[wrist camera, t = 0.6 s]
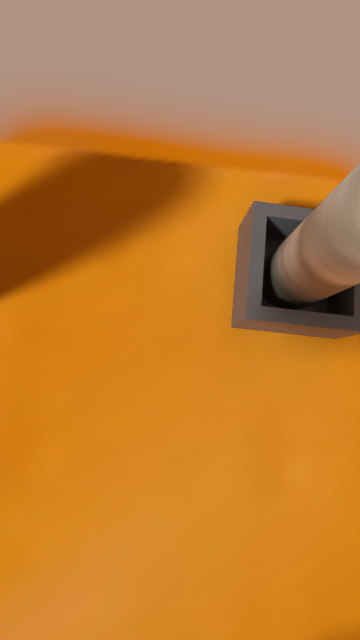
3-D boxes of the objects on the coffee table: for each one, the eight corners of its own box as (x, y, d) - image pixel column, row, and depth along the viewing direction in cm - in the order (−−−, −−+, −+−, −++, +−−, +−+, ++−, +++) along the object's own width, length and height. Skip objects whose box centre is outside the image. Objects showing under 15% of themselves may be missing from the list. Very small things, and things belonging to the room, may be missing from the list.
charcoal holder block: (334, 338, 22) (367, 332, 19) (231, 327, 22) (245, 318, 18) (337, 239, 23) (369, 216, 20) (239, 226, 23) (253, 200, 19)
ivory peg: (328, 302, 22) (624, 183, 8) (268, 318, 21) (473, 221, 8) (308, 243, 22) (554, 36, 9) (249, 257, 22) (409, 63, 8)
